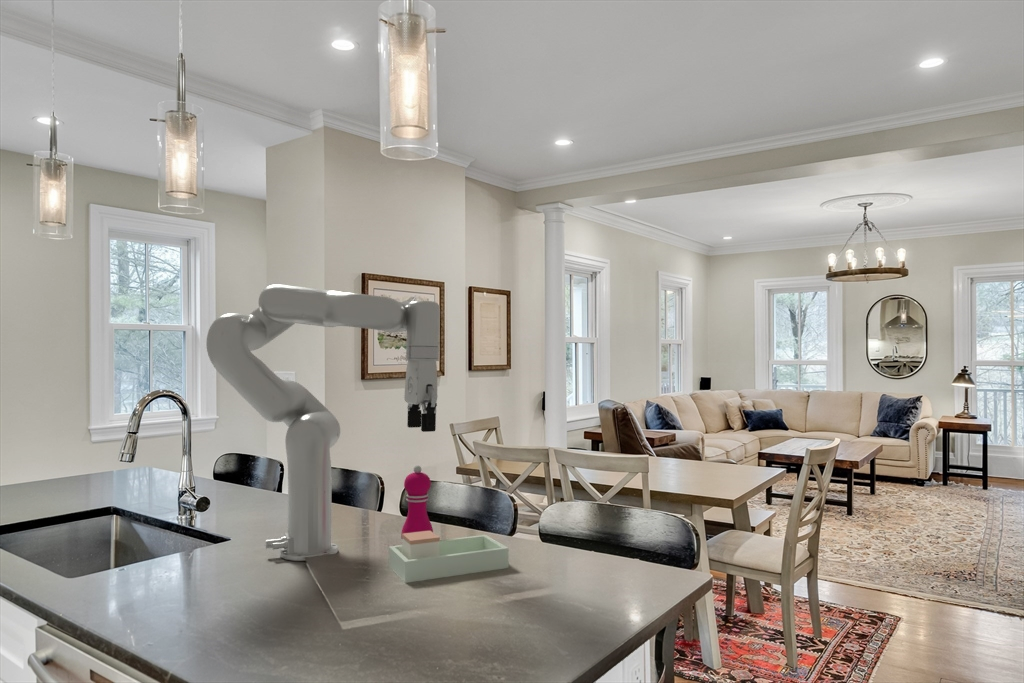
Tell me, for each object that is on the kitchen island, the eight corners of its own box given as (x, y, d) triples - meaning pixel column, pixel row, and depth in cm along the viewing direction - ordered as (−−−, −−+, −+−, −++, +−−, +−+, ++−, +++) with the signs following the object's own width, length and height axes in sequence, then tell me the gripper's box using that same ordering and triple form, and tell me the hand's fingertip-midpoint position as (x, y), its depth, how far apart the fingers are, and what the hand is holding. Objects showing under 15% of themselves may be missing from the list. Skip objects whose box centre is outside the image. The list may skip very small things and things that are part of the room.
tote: (405, 588, 129) (405, 561, 129) (388, 570, 140) (388, 546, 140) (508, 572, 139) (508, 548, 139) (485, 557, 149) (485, 534, 150)
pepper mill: (427, 559, 148) (427, 468, 148) (396, 557, 149) (396, 467, 150) (437, 550, 155) (437, 463, 155) (407, 549, 156) (408, 462, 157)
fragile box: (410, 576, 133) (410, 540, 133) (401, 568, 138) (401, 533, 138) (439, 572, 135) (439, 537, 136) (430, 564, 141) (430, 530, 141)
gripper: (395, 354, 160) (394, 426, 160) (419, 354, 145) (417, 433, 144) (425, 355, 164) (424, 425, 163) (451, 354, 148) (450, 432, 148)
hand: (421, 429), depth 154 cm, fingers open, 9 cm apart
